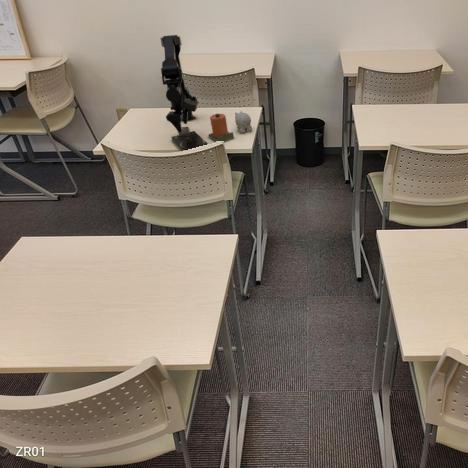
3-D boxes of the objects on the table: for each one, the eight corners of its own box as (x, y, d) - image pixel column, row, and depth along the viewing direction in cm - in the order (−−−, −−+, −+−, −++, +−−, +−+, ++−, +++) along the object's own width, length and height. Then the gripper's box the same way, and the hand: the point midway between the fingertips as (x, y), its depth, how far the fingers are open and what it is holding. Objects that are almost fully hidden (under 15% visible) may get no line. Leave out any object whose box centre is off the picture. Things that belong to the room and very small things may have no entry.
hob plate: (176, 142, 213) (176, 141, 213) (199, 136, 218) (199, 135, 217) (185, 150, 206) (184, 149, 206) (208, 144, 210) (208, 143, 210)
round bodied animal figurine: (245, 123, 233) (243, 106, 228) (254, 131, 224) (252, 114, 219) (231, 126, 230) (229, 109, 225) (239, 135, 221) (237, 117, 216)
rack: (208, 137, 220) (207, 131, 219) (223, 132, 224) (222, 126, 223) (218, 143, 215) (217, 137, 213) (233, 138, 219) (233, 132, 217)
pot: (210, 134, 219) (206, 114, 213) (223, 129, 222) (220, 110, 217) (217, 138, 215) (214, 118, 209) (230, 134, 218) (227, 114, 212)
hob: (170, 139, 221) (169, 135, 220) (193, 133, 225) (192, 129, 224) (185, 155, 207) (184, 150, 206) (209, 148, 211) (208, 144, 210)
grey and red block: (178, 136, 218) (177, 128, 216) (179, 134, 220) (178, 126, 217) (189, 136, 218) (187, 127, 215) (190, 134, 219) (188, 126, 217)
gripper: (188, 101, 199) (195, 136, 208) (199, 86, 214) (205, 119, 223) (162, 102, 200) (170, 137, 209) (175, 86, 215) (182, 120, 224)
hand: (183, 128), depth 216 cm, fingers open, 9 cm apart
